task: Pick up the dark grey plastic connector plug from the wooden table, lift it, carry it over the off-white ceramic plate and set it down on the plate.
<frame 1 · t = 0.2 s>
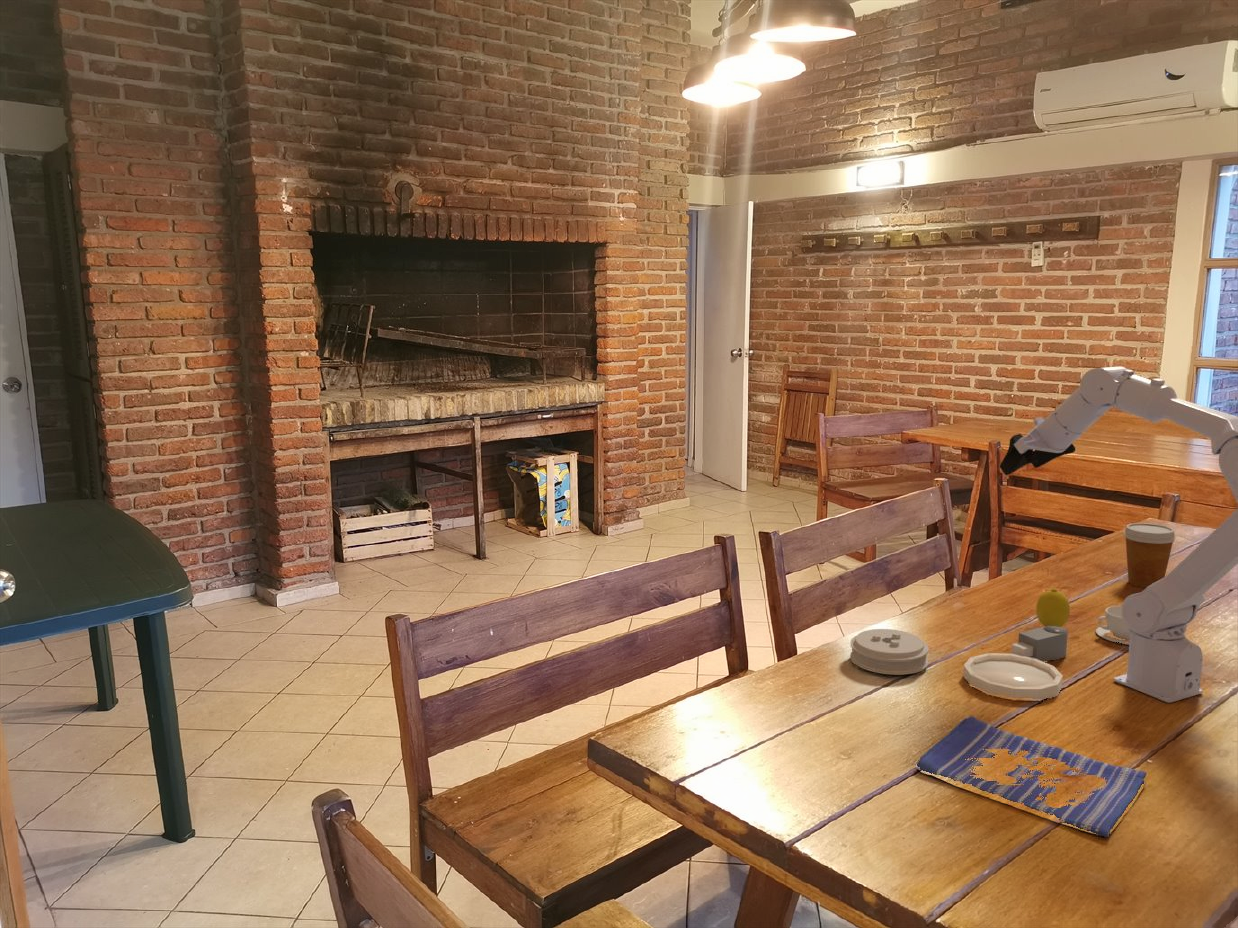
hand: (1018, 466, 162), 31 cm above the table, tool tilted 45°, fingers open, 7 cm apart
connector: (1040, 657, 155), on the table
disposable coffee cup: (1145, 584, 192), on the table
teacup: (1126, 638, 164), on the table
plate: (1011, 682, 146), on the table
lemon: (1051, 631, 167), on the table
lid: (888, 665, 155), on the table
dish towel: (1027, 782, 118), on the table
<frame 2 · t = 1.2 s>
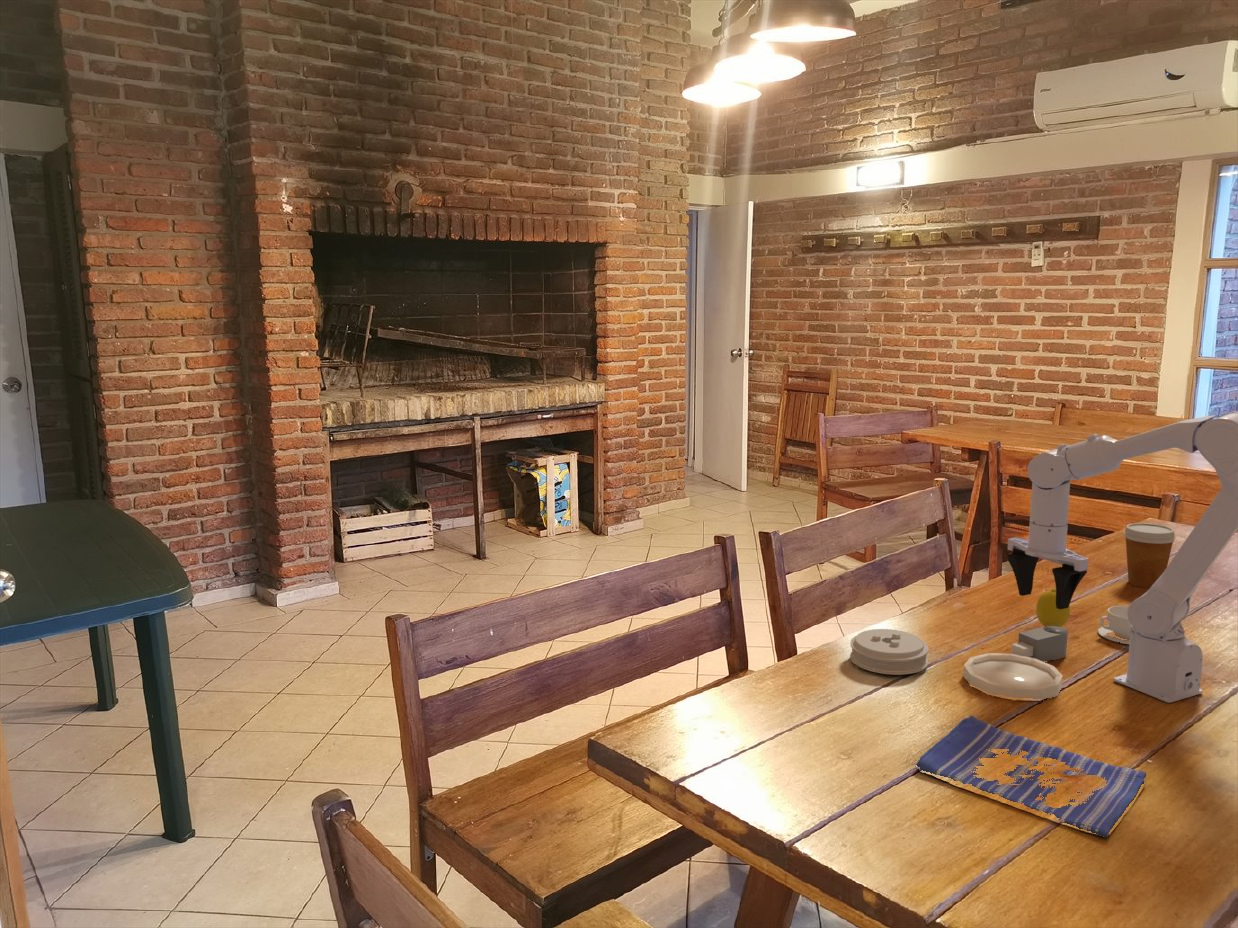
hand: (1043, 601, 154), 10 cm above the table, tool pointing down, fingers open, 7 cm apart
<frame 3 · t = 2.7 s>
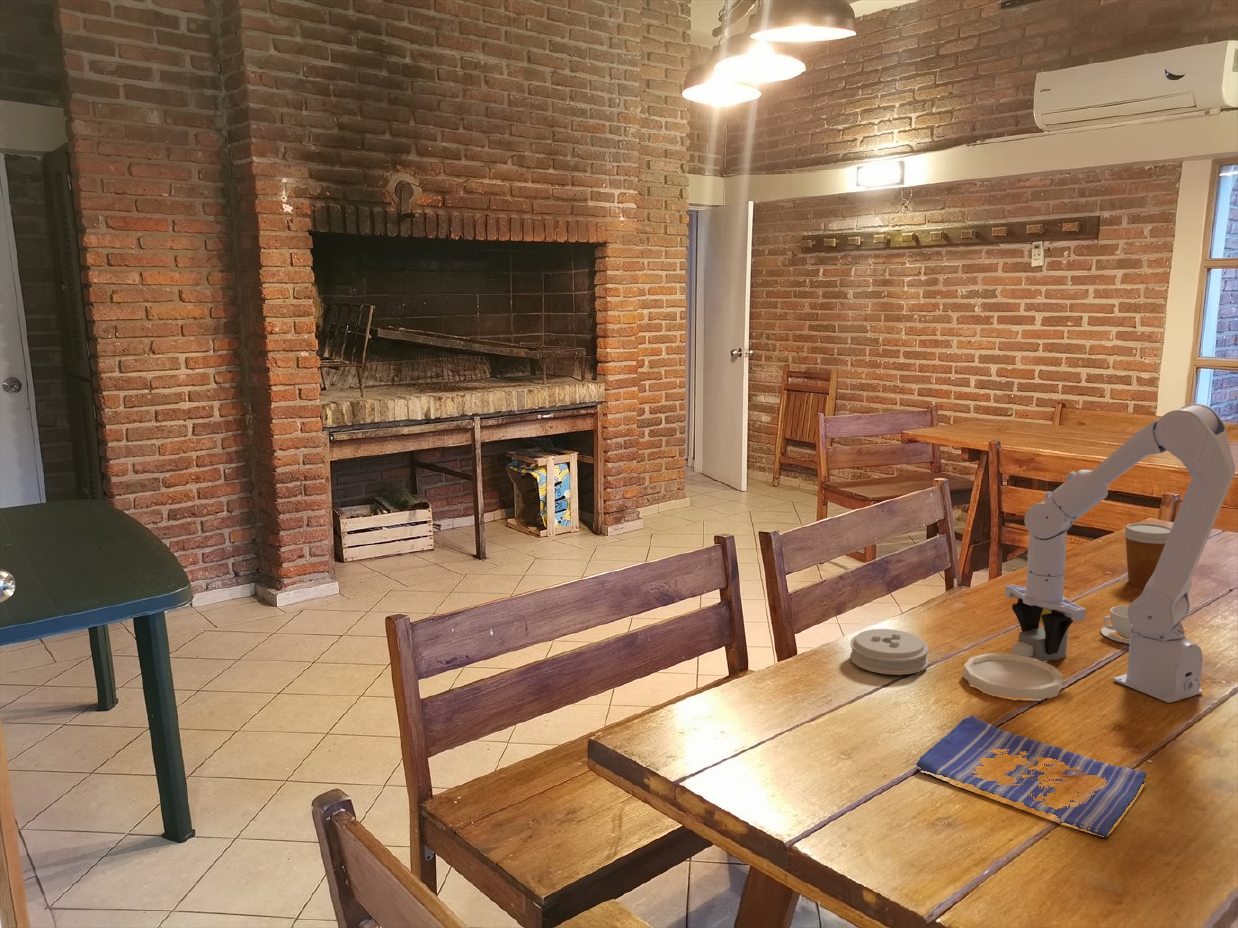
hand: (1040, 648, 155), 2 cm above the table, tool pointing down, fingers closed on connector, 4 cm apart
connector: (1040, 657, 155), on the table, touching gripper
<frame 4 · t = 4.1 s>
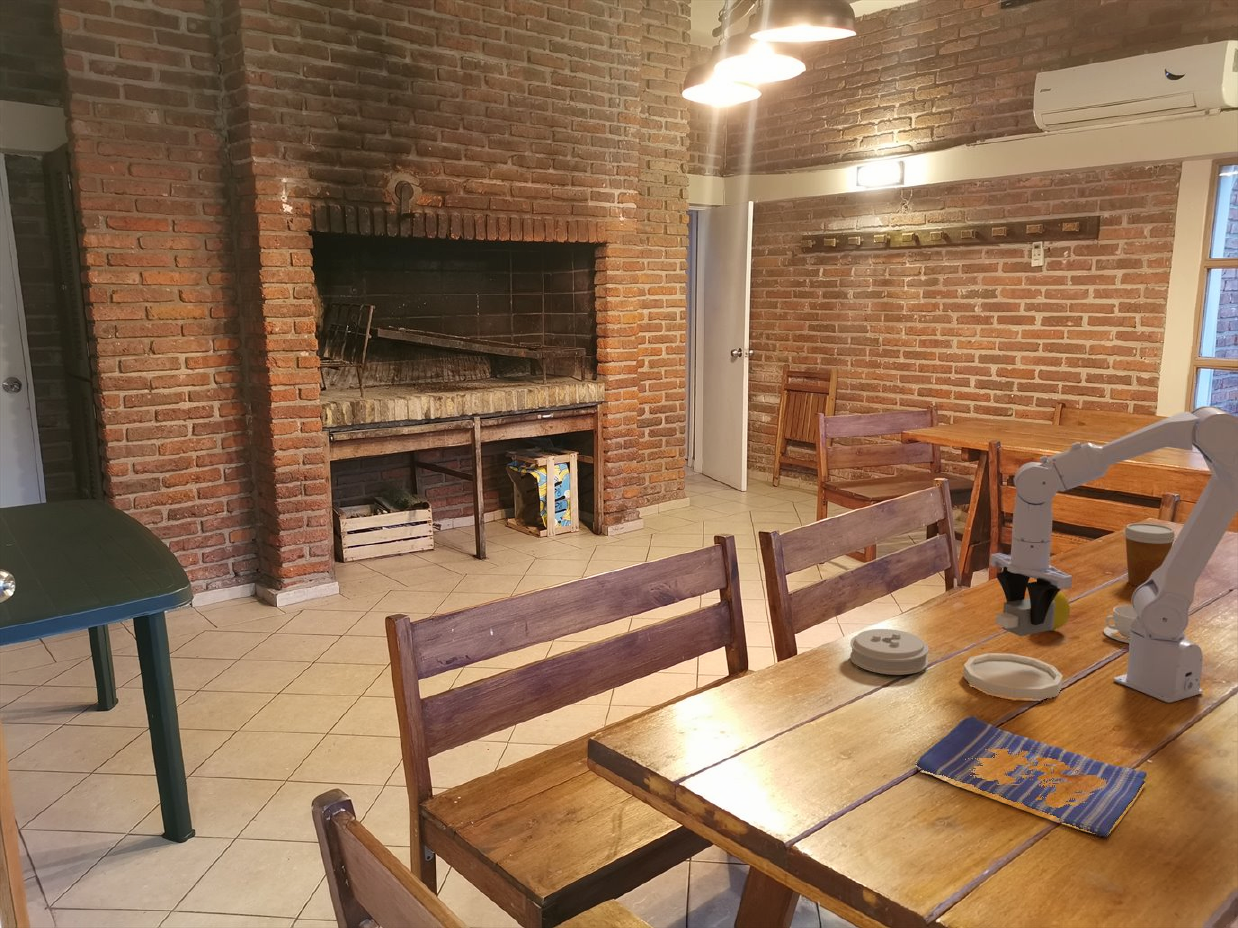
hand: (1026, 619, 148), 9 cm above the table, tool pointing down, fingers closed on connector, 4 cm apart
connector: (1026, 629, 149), point 7 cm above the table, touching gripper
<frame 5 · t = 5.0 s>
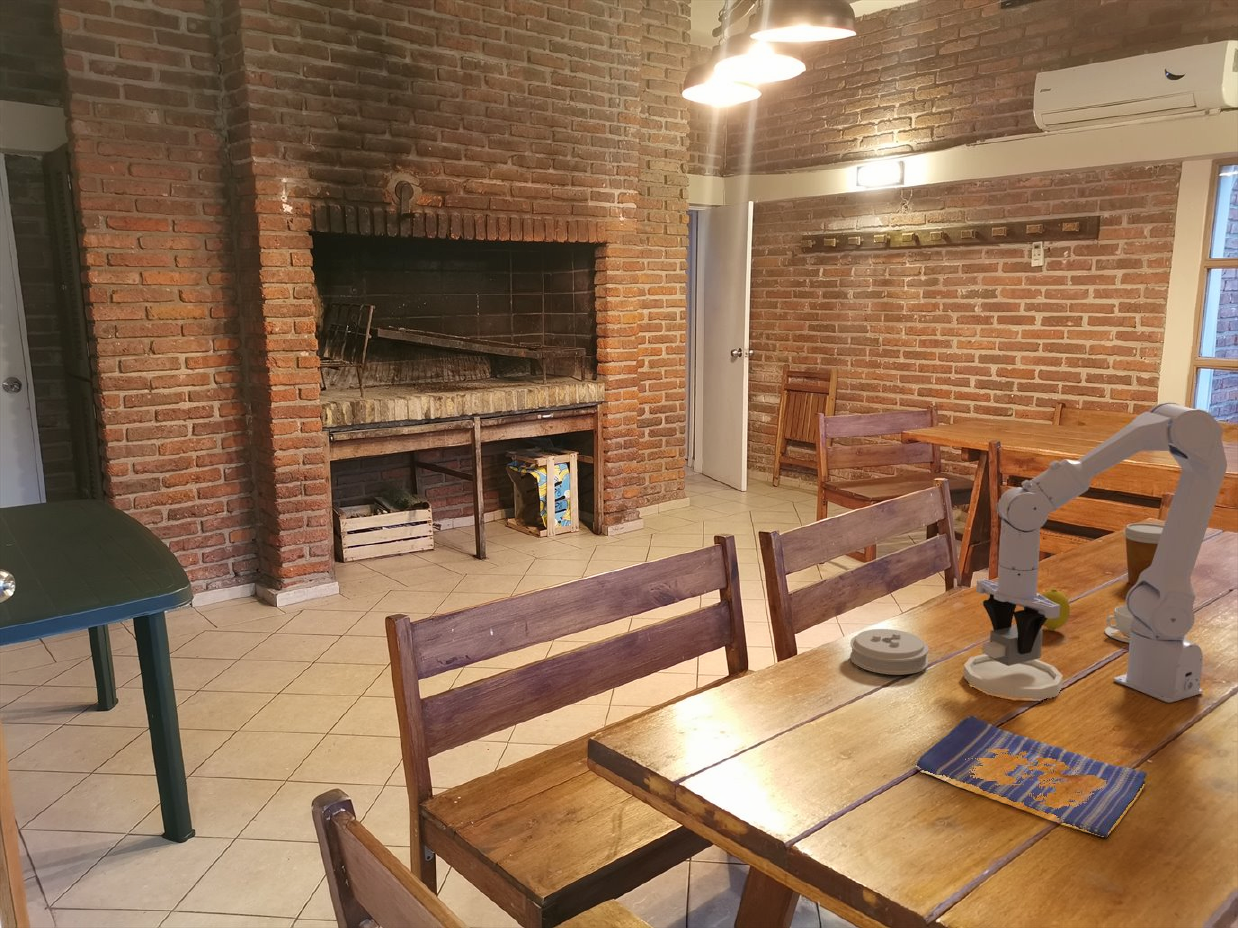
hand: (1013, 647, 145), 6 cm above the table, tool pointing down, fingers closed on connector, 4 cm apart
connector: (1013, 658, 145), point 4 cm above the table, touching gripper
when the fingers open (4 cm above the table, at t = 5.7 s): connector stays where it is, resting on plate.
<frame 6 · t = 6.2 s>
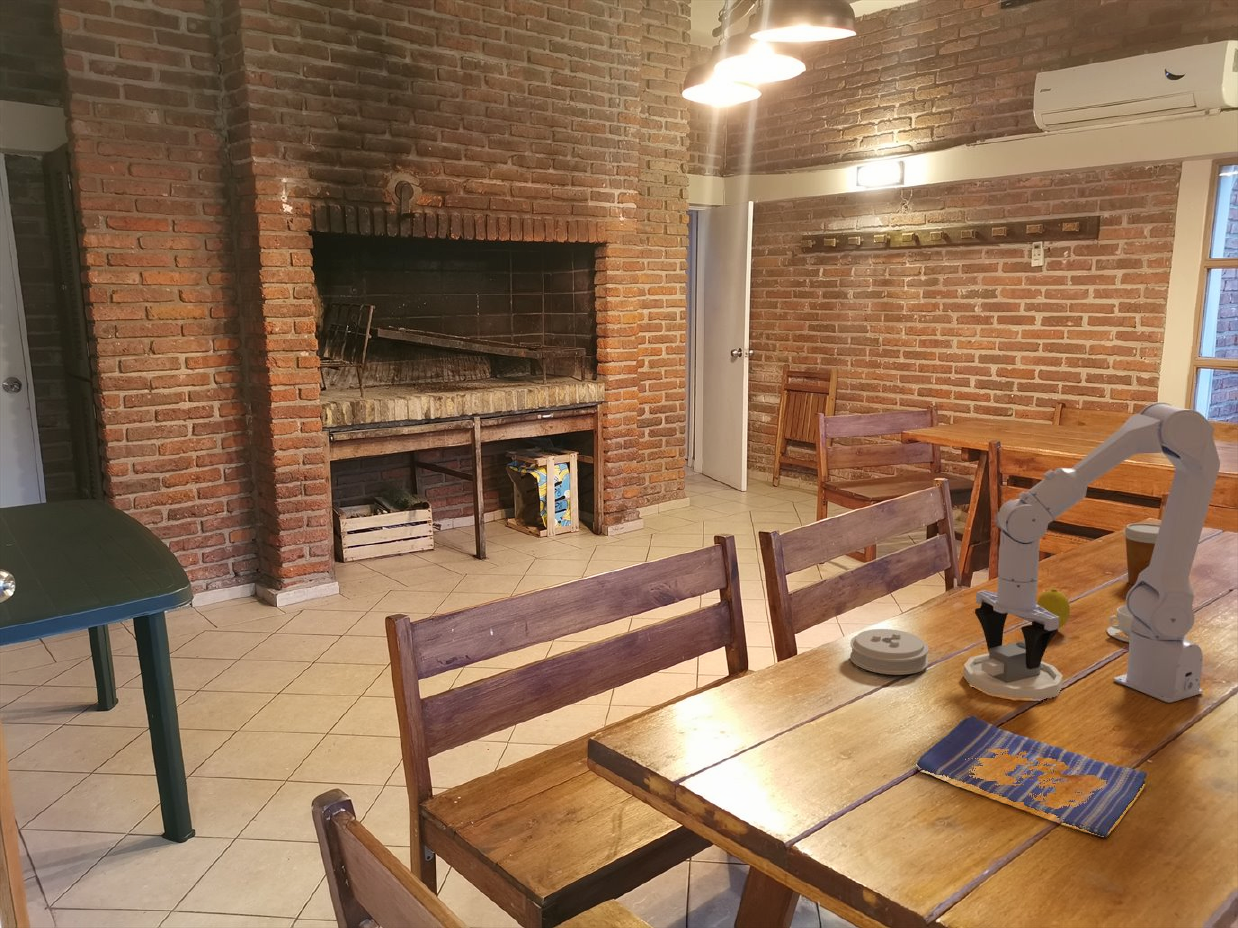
hand: (1013, 659, 145), 4 cm above the table, tool pointing down, fingers open, 7 cm apart
connector: (1012, 675, 146), point 1 cm above the table, touching plate
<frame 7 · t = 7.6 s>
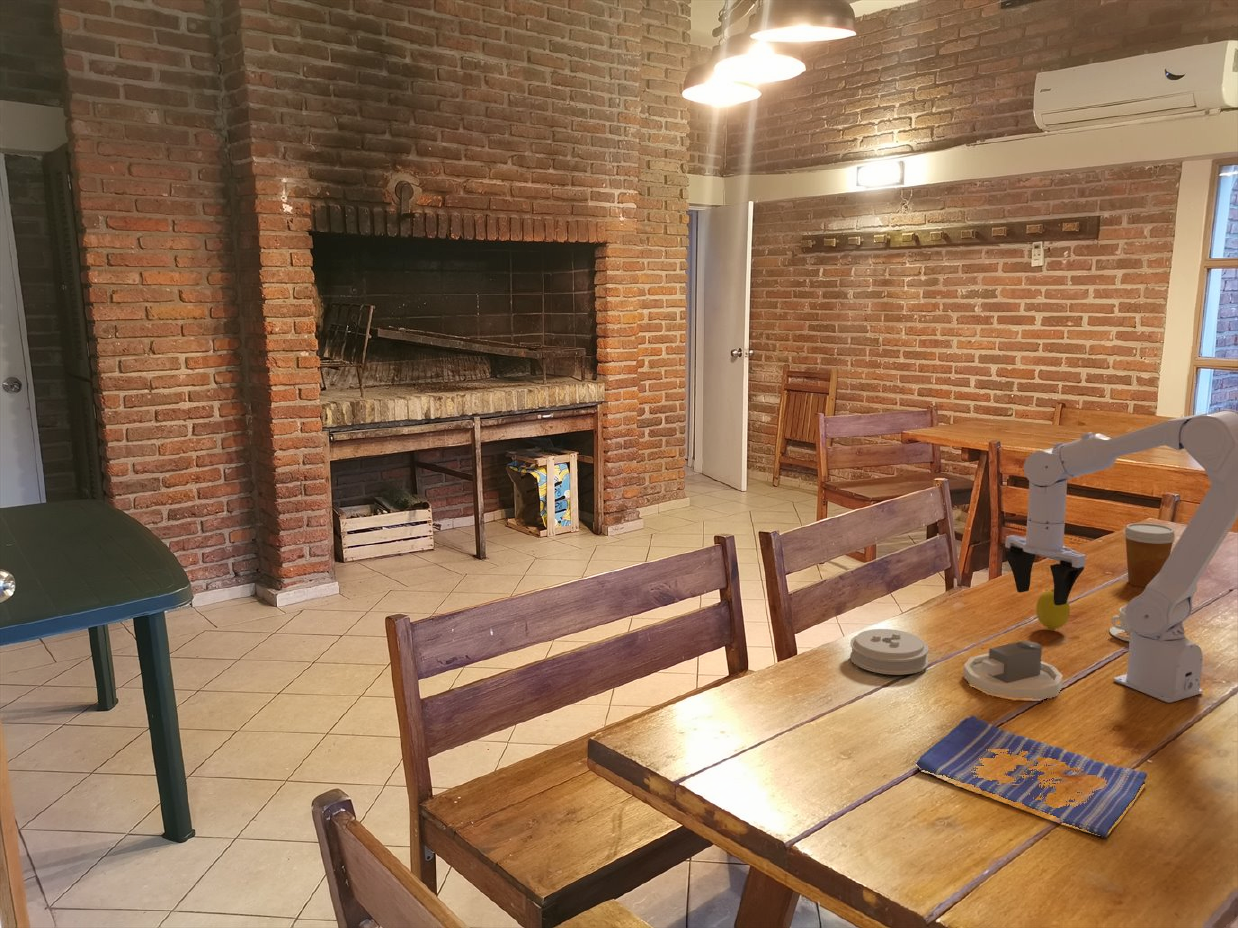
hand: (1041, 597, 156), 10 cm above the table, tool pointing down, fingers open, 7 cm apart
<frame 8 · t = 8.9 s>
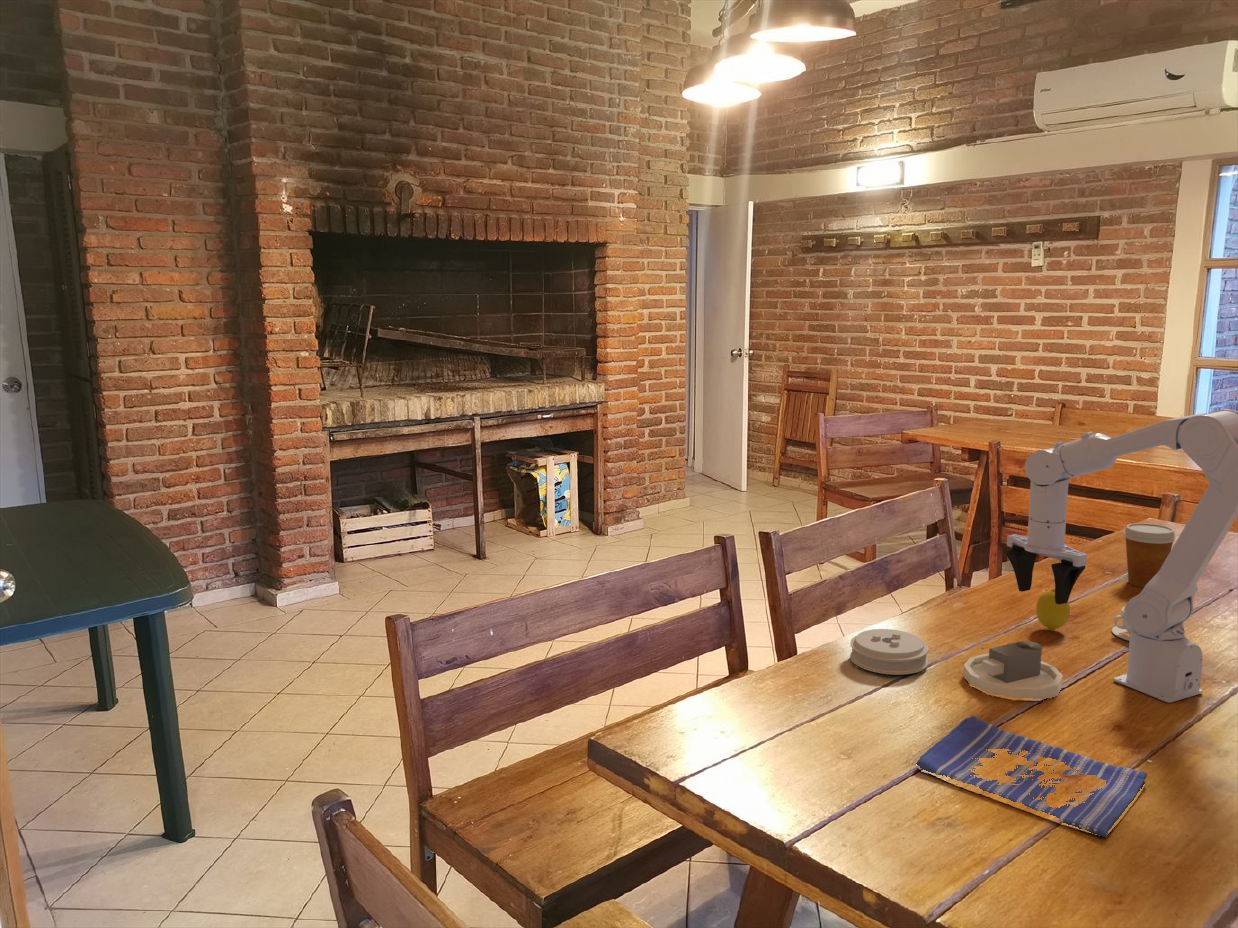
hand: (1042, 596, 156), 10 cm above the table, tool pointing down, fingers open, 7 cm apart
at the end: connector 0.0 cm from the plate (horizontally); connector point 1.2 cm above the table; the gripper is holding nothing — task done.
